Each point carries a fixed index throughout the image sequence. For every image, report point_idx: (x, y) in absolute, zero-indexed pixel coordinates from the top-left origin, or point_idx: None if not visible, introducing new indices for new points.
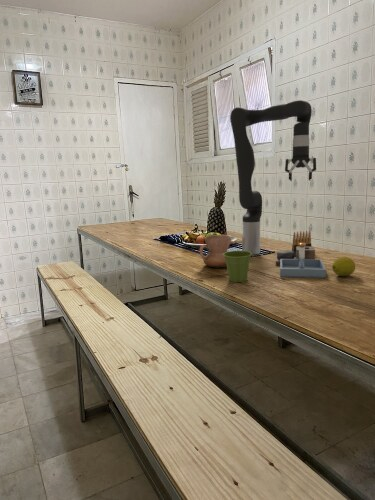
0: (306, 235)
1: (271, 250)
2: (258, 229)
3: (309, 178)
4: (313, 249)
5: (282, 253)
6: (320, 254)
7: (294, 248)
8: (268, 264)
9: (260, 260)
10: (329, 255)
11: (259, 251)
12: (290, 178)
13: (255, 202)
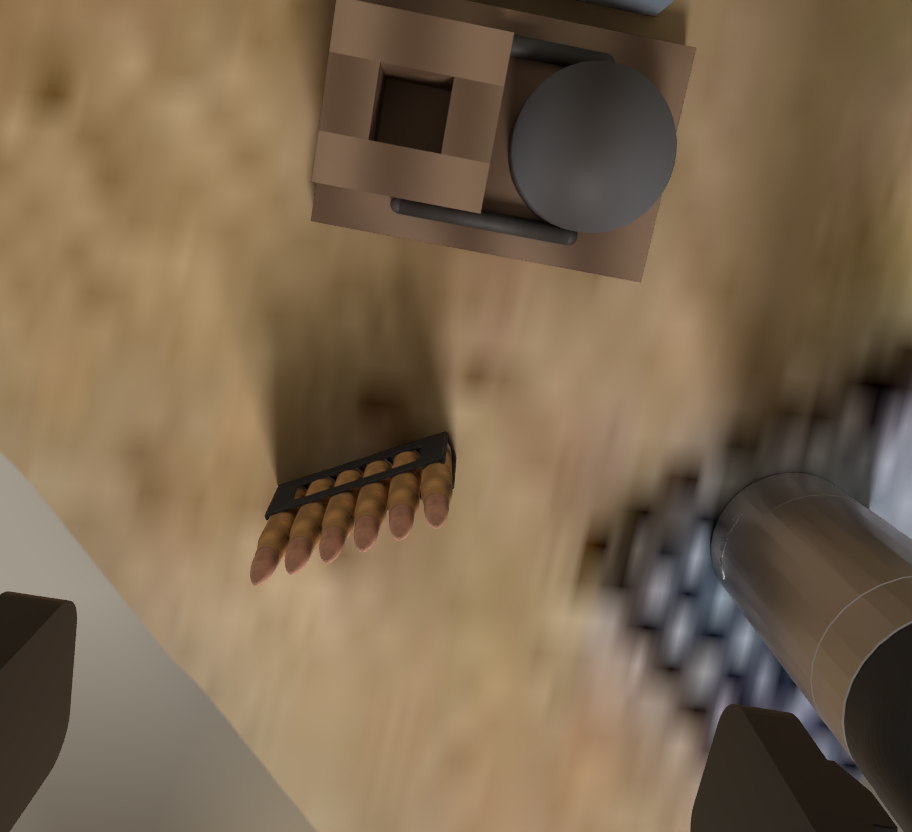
0: (302, 540)
1: (593, 621)
2: (836, 594)
3: (16, 621)
4: (345, 32)
5: (637, 93)
6: (214, 423)
7: (438, 451)
8: (737, 97)
9: (771, 256)
10: (146, 377)
11: (730, 514)
12: (816, 759)
13: None
